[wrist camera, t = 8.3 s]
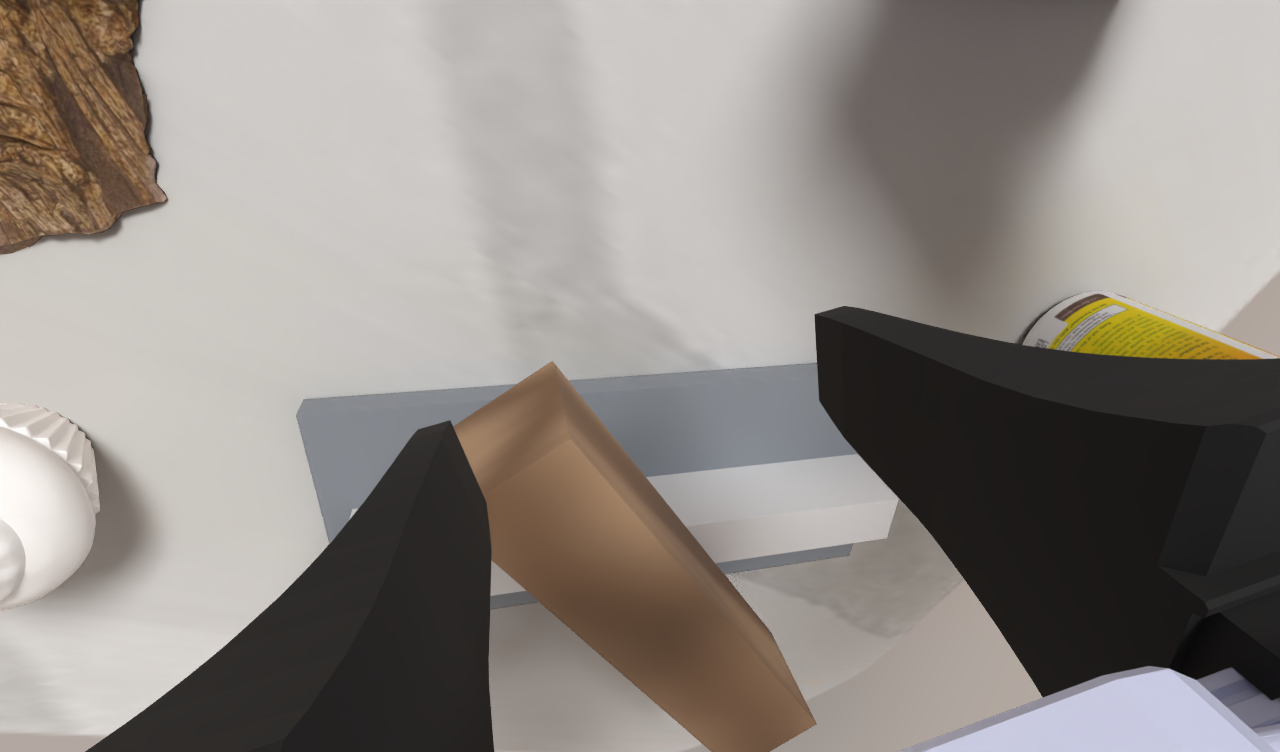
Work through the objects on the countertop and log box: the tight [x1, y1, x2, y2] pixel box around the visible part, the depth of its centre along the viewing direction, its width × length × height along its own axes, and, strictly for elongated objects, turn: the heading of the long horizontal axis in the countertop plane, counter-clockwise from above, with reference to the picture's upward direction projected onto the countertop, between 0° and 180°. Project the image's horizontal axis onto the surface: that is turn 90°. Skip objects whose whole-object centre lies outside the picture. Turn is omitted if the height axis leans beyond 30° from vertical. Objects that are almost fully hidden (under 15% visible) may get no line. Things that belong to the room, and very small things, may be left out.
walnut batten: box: [453, 361, 816, 752], centre depth 20 cm, size 4×16×4 cm, turn 30°
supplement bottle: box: [1022, 291, 1280, 359], centre depth 23 cm, size 6×6×10 cm
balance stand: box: [296, 363, 899, 609], centre depth 23 cm, size 22×10×4 cm, turn 87°
